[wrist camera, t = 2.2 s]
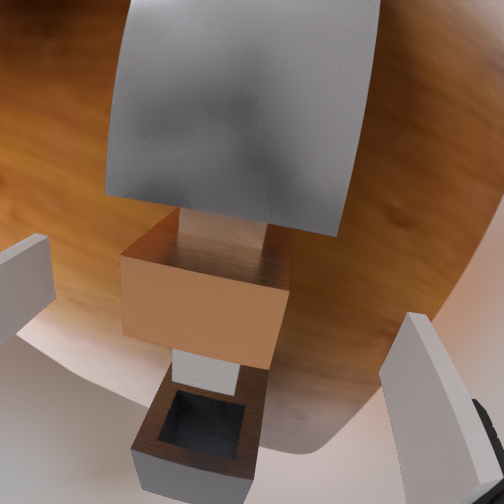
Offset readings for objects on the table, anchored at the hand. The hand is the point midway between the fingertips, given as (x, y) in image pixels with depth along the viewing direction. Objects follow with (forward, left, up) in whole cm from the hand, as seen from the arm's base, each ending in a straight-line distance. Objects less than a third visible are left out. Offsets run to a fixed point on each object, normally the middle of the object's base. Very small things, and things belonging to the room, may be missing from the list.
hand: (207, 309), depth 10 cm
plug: (-3, 0, -7) cm, 8 cm away
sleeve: (-8, 0, -12) cm, 14 cm away
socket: (+14, 0, -12) cm, 18 cm away
